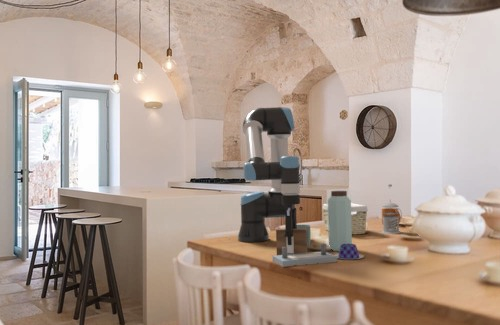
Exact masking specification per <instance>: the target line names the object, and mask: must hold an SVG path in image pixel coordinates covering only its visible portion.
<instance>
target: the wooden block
mask: <svg viewBox="0 0 500 325" xmlns="http://www.w3.org/2000/svg"><path fill="white" fill-rule="evenodd" d="M284 235H285V228H277V229H276V230H275V241H276V242H275V243H276V244H275V245H276V255H282V247H287V244H286V237H284ZM293 240H294V253H287V254H299V253H309V252H308V248H307V229H293Z"/></svg>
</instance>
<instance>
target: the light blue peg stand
mask: <svg viewBox="0 0 500 325" xmlns="http://www.w3.org/2000/svg"><path fill="white" fill-rule="evenodd" d="M272 262H274V263H276V264H277V265H279V266H280V267H282V268H284V267H295V266H294V265H297V266H305V265H306V264H307V265H315V264H316V265H317V263H318V264H325V263H326V264H327V263H328V264H329V263H336V262H338V258H337V256H335V254H332V253H331V252H328V251H327V244H326V243H320V251H313V252H308V253H299V254H287V247H282V255H277V254H276V255H272Z"/></svg>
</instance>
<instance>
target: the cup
mask: <svg viewBox="0 0 500 325" xmlns="http://www.w3.org/2000/svg"><path fill="white" fill-rule="evenodd" d="M297 229H307V249H308V248H309V247H310V245H311V225H310V224H297Z"/></svg>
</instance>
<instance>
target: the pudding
mask: <svg viewBox="0 0 500 325" xmlns="http://www.w3.org/2000/svg"><path fill="white" fill-rule="evenodd" d="M338 252H339V253H335V254H334V255H335V256H337V259H340V260H348V261H349V260H359V259H363V258H364V257H365V255H364V254H361V253H359V251H358V247H357V245H356V244H354V243H352V244H342V245H341V247H340V251H338Z"/></svg>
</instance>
